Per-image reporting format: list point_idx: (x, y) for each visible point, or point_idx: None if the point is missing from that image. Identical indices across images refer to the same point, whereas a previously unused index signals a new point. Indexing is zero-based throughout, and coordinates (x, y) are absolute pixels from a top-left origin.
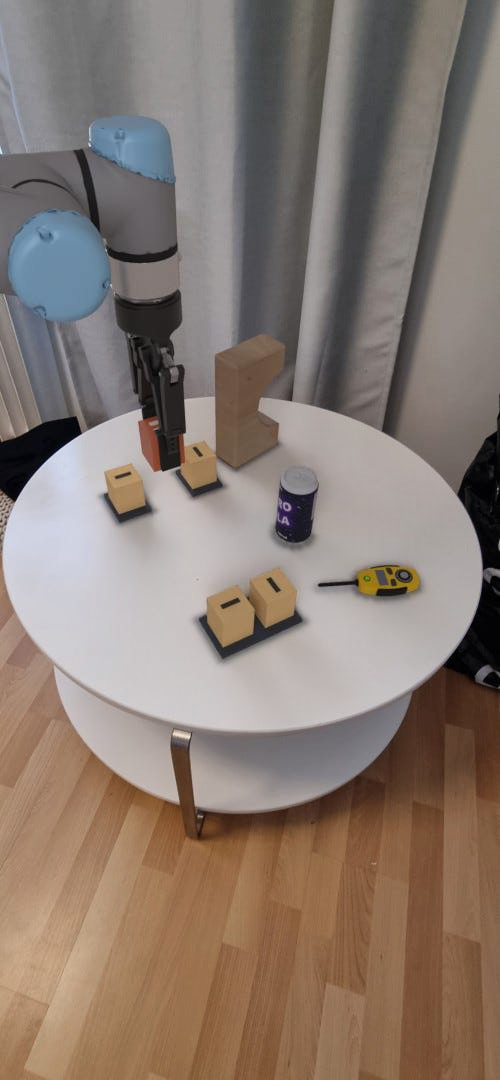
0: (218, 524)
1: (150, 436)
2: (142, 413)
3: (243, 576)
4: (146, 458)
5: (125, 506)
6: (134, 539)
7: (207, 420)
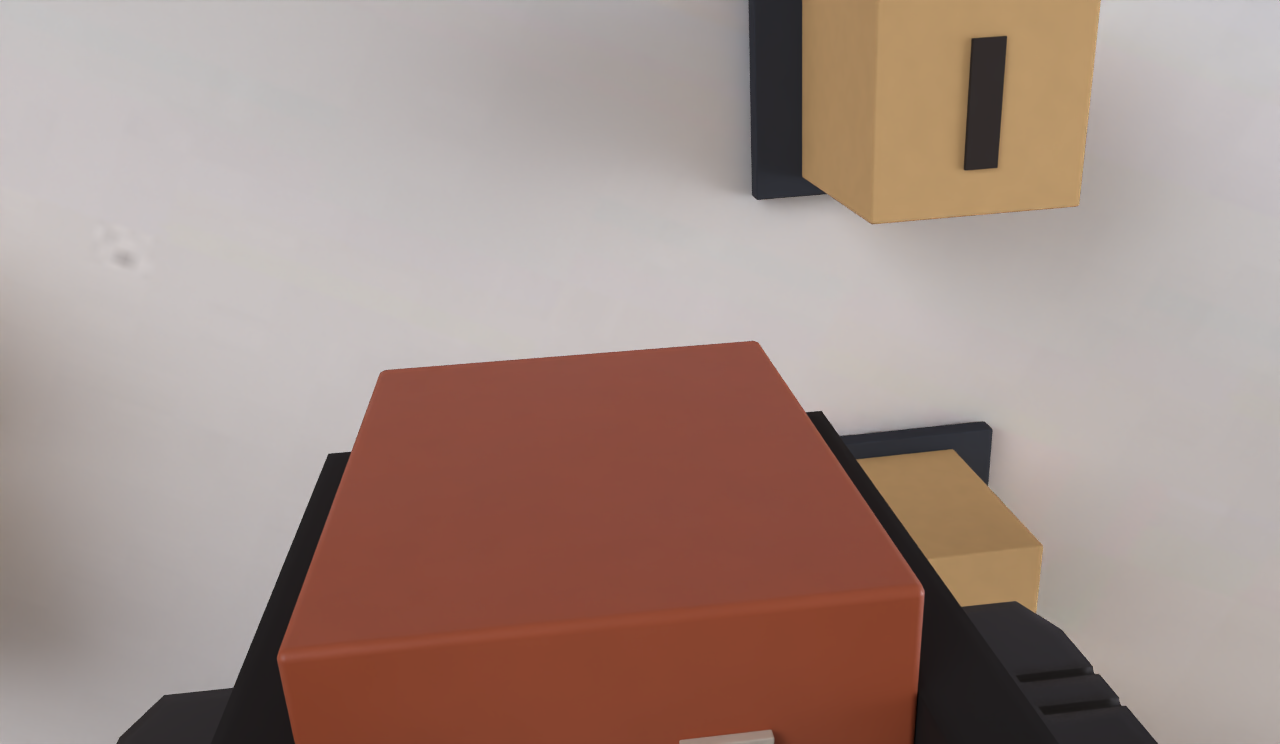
0: None
1: (382, 673)
2: (1022, 741)
3: (82, 485)
4: (618, 360)
5: (814, 45)
6: (569, 15)
7: (1270, 693)
